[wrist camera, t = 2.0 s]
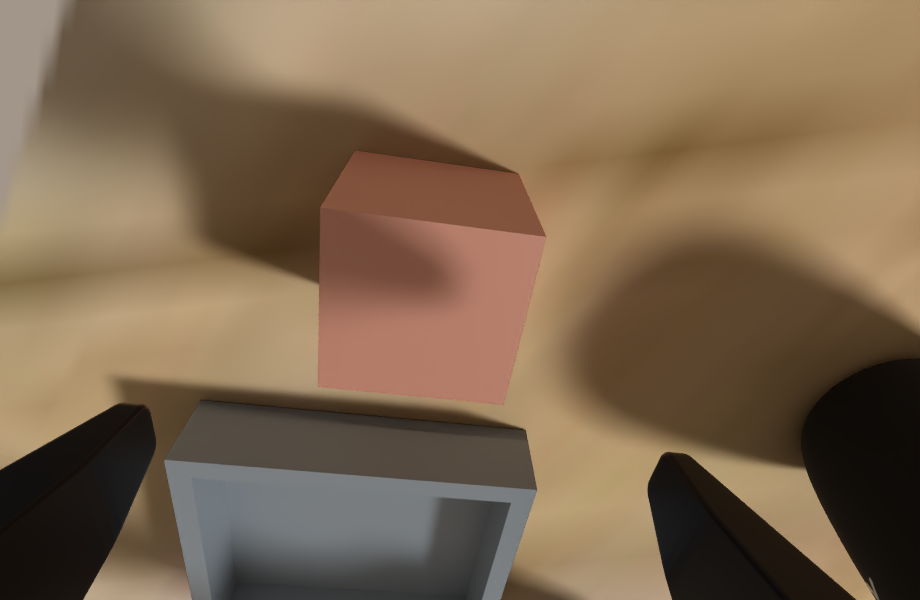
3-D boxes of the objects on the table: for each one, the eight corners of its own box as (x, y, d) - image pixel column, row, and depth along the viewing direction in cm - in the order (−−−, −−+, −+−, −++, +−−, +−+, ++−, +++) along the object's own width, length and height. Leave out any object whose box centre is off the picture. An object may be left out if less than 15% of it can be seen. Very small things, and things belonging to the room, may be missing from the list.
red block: (518, 172, 16) (546, 237, 11) (489, 309, 18) (503, 404, 14) (355, 149, 15) (320, 207, 11) (349, 293, 18) (317, 386, 13)
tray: (525, 430, 21) (536, 490, 18) (478, 594, 27) (481, 657, 24) (200, 400, 20) (163, 459, 17) (225, 579, 26) (200, 643, 23)
